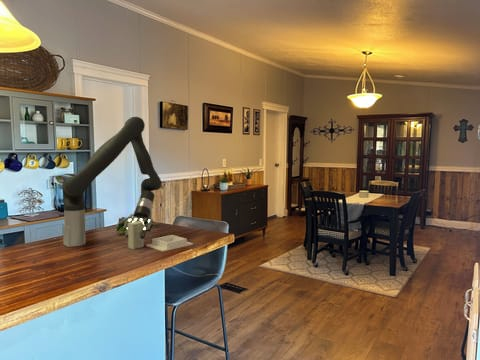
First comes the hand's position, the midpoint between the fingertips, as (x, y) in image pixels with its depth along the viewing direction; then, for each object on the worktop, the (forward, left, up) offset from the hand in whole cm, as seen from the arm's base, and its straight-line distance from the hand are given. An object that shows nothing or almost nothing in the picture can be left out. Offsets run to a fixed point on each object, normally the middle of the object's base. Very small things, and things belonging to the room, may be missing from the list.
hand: (134, 237), depth 176 cm
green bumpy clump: (+13, +30, -5) cm, 33 cm away
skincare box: (+1, +1, -5) cm, 5 cm away
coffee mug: (+27, +38, -5) cm, 47 cm away
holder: (+15, -7, -5) cm, 18 cm away
